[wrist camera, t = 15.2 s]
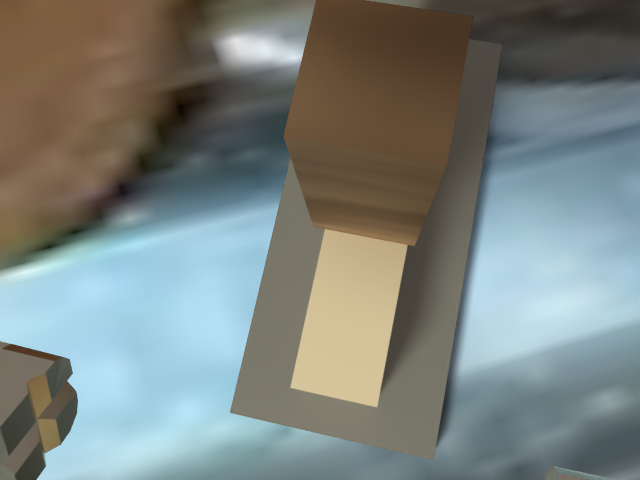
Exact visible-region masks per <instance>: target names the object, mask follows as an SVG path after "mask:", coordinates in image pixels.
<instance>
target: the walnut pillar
mask: <svg viewBox="0 0 640 480" xmlns="http://www.w3.org/2000/svg"><path fill="white" fill-rule="evenodd" d="M472 21H473V16H468V15H461V14H454V13H447V12H440V11H434V10H427V9H420V8H413V7H406V6H399V5H392V4H386V3H379V2H372V1H365V0H316V3H315V7H314V11H313V16H312V20H311V24H310V28H309V32H308V36H307V41H306V45H305V49H304V53H303V57H302V61H301V65H300V70H299V74H298V78H297V82H296V86H295V90H294V95H293V99H292V103H291V107H290V111H289V115H288V119H287V124H286V128H285V132H284V139H285V142H286V145H287V148H288V152H289V155H290V158H291V161H292V164H293V167H294V170H295V173H296V176H297V179H298V182H299V185H300V188H301V191H302V194H303V197H304V200H305V203H306V206H307V209H308V212H309V215H310V218H311V221H312V224H313V227H317V228H322V229H327V230H332V231H338V232H343V233H348V234H353V235H359V236H364V237H369V238H374V239H379V240H385V241H390V242H395V243H400V244H406V245H411V246H415V244H416V241H417V239H418V236H419V234H420V231H421V229H422V226H423V224H424V221H425V219H426V216H427V214H428V211H429V209H430V206H431V204H432V201H433V199H434V196H435V194H436V191H437V189H438V186H439V184H440V181H441V179H442V176H443V174H444V171H445V168H446V166H447V162H448V156H449V150H450V145H451V139H452V134H453V128H454V122H455V117H456V111H457V106H458V100H459V94H460V89H461V83H462V78H463V72H464V66H465V61H466V55H467V49H468V44H469V38H470V33H471V27H472Z"/></svg>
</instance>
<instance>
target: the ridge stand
mask: <svg viewBox="0 0 640 480" xmlns="http://www.w3.org/2000/svg"><path fill="white" fill-rule="evenodd" d="M502 45H503V44H499V43H492V42H486V41H479V40H472V39H469V44H468V49H467V55H466V61H465V66H464V72H463V78H462V83H461V89H460V94H459V100H458V106H457V111H456V117H455V122H454V128H453V134H452V139H451V145H450V150H449V156H448V162H447V166H446V168H445V171H444V174H443V176H442V179H441V181H440V184H439V186H438V189H437V191H436V194H435V196H434V199H433V201H432V204H431V206H430V209H429V211H428V214H427V216H426V219H425V221H424V224H423V226H422V229H421V231H420V234H419V236H418V239H417V241H416V244H415V246H411V245H406V244H400V243H395V242H390V241H385V240H379V239H374V238H369V237H364V236H359V235H353V234H348V233H343V232H338V231H332V230H327V229H322V228H317V227H313V224H312V221H311V218H310V215H309V212H308V209H307V206H306V203H305V200H304V197H303V194H302V191H301V188H300V185H299V182H298V179H297V176H296V173H295V170H294V167H293V164H292V161H291V158H290V162H289V166H288V170H287V174H286V179H285V183H284V187H283V191H282V195H281V200H280V204H279V208H278V212H277V216H276V221H275V225H274V229H273V233H272V238H271V242H270V246H269V250H268V254H267V259H266V263H265V267H264V271H263V276H262V280H261V284H260V288H259V292H258V297H257V301H256V305H255V309H254V314H253V318H252V322H251V326H250V330H249V335H248V339H247V343H246V347H245V352H244V356H243V360H242V364H241V368H240V373H239V377H238V381H237V385H236V390H235V394H234V398H233V402H232V406H231V411H230V413H233V414H238V415H242V416H246V417H251V418H255V419H259V420H263V421H268V422H272V423H276V424H281V425H285V426H289V427H294V428H298V429H302V430H306V431H311V432H315V433H319V434H324V435H328V436H332V437H337V438H341V439H345V440H349V441H354V442H358V443H362V444H367V445H371V446H375V447H380V448H384V449H388V450H392V451H397V452H401V453H405V454H410V455H414V456H418V457H423V458H427V459H431V460H434V455H435V449H436V443H437V437H438V431H439V425H440V419H441V413H442V407H443V401H444V395H445V389H446V383H447V377H448V371H449V365H450V359H451V353H452V347H453V341H454V335H455V329H456V323H457V316H458V310H459V304H460V298H461V292H462V286H463V280H464V274H465V268H466V262H467V256H468V250H469V244H470V238H471V232H472V226H473V220H474V214H475V208H476V202H477V196H478V190H479V184H480V178H481V172H482V166H483V160H484V153H485V147H486V141H487V135H488V129H489V123H490V117H491V111H492V105H493V99H494V93H495V87H496V81H497V75H498V69H499V63H500V57H501V51H502Z"/></svg>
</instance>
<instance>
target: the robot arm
mask: <svg viewBox="0 0 640 480" xmlns="http://www.w3.org/2000/svg"><path fill="white" fill-rule="evenodd" d="M72 374H73V372H72V367H71V363H70V359H67V358H64V357H61V356H57V355H53V354H49V353H45V352H41V351H37V350H33V349H29V348H25V347H21V346H17V345H13V344H9V343H5V342H0V480H36V479H37V478H38V477H39V475H40V474H41V472H42V471H43V469H44V468H45V467H46V462H45V453H46V452H48V451H50V450H52V449H53V448H55V447H57V446H59V445H61V444H62V442H63V441H64V439H65V438H66V436H67V435H68V433H69V432H70V430H71V427H72V425H73V422H74V419H75V417H76V414H77V405H78V399H77V393H76V391H75V389H74V388H73V387H72V386H71V385H70V384H69V383H68V381H67V380H68V379H69V378H70V376H71V375H72ZM544 480H615V479H610V478H605V477H600V476H596V475H591V474H586V473H582V472H577V471H572V470H567V469H563V468H558V467H552V468H551V469H550V470H548V472H547V474H546V476H545V478H544Z"/></svg>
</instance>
